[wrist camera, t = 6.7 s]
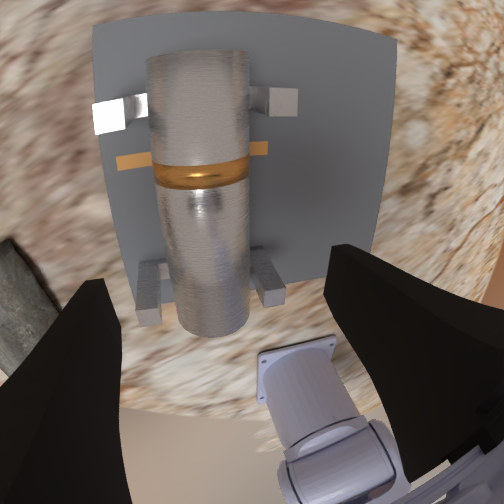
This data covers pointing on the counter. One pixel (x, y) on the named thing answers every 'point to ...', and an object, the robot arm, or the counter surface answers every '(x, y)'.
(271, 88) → the collar
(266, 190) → the board
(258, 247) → the collar
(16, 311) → the stone
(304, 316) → the counter surface
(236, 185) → the tube
